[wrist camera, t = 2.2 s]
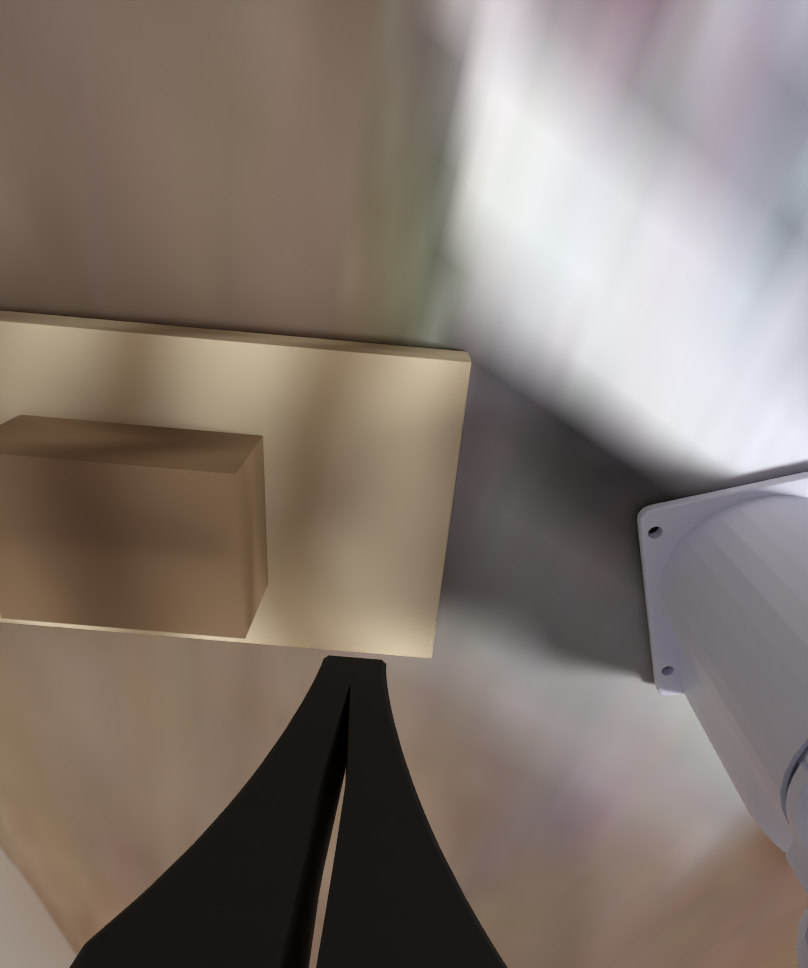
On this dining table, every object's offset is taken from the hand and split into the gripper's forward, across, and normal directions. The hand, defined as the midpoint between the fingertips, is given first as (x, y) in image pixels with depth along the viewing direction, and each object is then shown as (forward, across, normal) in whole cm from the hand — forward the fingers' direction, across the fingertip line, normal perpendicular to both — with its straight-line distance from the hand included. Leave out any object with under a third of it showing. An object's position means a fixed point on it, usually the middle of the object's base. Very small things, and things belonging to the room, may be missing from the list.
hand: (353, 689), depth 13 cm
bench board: (+9, +8, 0) cm, 12 cm away
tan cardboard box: (+8, +8, 0) cm, 11 cm away
